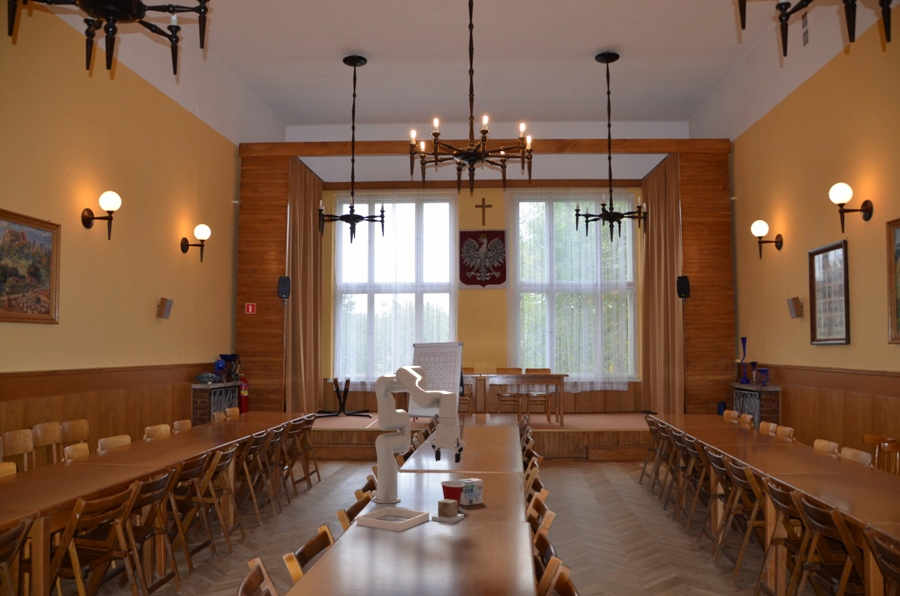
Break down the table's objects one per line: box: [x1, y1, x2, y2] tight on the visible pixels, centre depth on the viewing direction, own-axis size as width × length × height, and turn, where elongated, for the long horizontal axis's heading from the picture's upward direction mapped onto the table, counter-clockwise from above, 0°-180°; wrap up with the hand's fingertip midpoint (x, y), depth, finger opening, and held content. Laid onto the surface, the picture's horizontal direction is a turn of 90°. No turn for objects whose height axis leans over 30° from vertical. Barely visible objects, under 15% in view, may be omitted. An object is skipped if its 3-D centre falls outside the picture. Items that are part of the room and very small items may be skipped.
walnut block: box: [437, 498, 458, 518], centre depth 299 cm, size 6×6×6 cm
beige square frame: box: [356, 506, 430, 532], centre depth 293 cm, size 22×22×3 cm
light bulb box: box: [456, 477, 484, 506], centre depth 330 cm, size 11×7×11 cm, turn 122°
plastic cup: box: [440, 480, 465, 511], centre depth 316 cm, size 11×11×12 cm
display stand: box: [431, 513, 465, 524], centre depth 299 cm, size 10×10×2 cm
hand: (447, 461), depth 300 cm, fingers open, 9 cm apart
